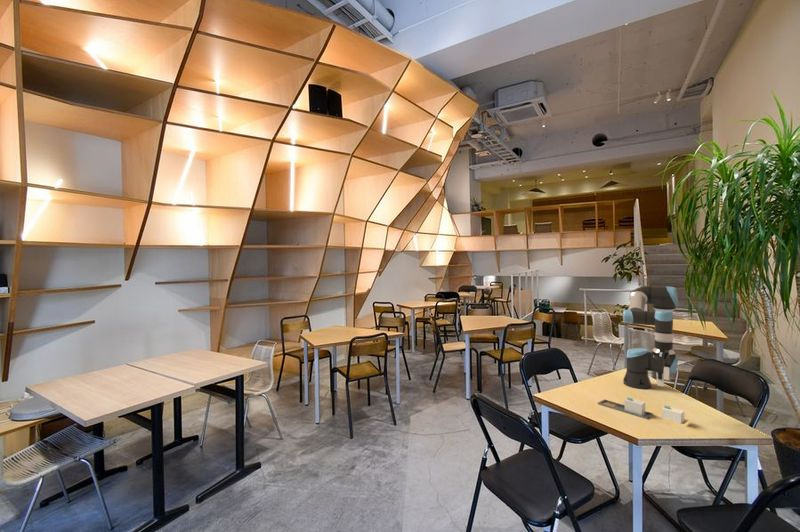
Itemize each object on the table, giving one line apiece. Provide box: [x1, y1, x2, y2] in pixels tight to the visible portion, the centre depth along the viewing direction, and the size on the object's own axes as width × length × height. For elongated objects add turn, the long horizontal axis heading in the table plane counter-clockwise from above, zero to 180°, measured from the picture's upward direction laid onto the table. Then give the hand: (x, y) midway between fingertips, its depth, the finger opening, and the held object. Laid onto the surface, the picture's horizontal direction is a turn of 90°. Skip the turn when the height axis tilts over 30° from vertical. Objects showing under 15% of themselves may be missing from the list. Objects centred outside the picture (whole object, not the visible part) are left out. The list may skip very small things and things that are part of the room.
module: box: [661, 405, 685, 424], centre depth 185 cm, size 5×8×7 cm, turn 37°
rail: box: [597, 398, 654, 420], centre depth 198 cm, size 8×25×2 cm, turn 37°
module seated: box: [624, 396, 646, 416], centre depth 194 cm, size 5×8×7 cm, turn 37°
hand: (663, 382), depth 187 cm, fingers open, 13 cm apart
